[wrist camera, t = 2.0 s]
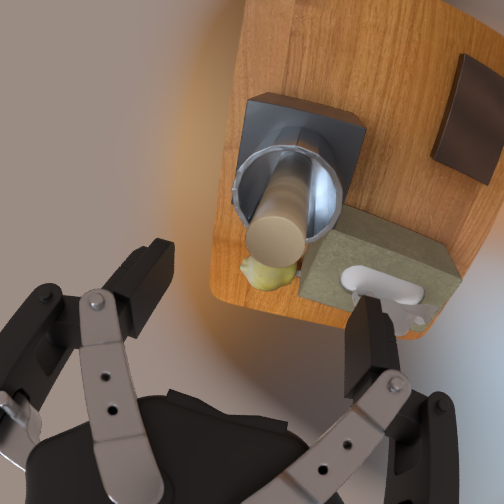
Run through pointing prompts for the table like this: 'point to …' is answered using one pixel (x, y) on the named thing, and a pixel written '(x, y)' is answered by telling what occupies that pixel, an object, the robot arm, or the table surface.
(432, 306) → the tissue box
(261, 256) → the stick
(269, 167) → the tin
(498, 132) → the board
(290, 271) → the fruit
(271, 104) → the stand
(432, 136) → the table surface
